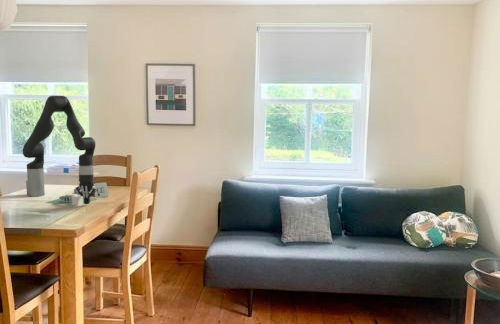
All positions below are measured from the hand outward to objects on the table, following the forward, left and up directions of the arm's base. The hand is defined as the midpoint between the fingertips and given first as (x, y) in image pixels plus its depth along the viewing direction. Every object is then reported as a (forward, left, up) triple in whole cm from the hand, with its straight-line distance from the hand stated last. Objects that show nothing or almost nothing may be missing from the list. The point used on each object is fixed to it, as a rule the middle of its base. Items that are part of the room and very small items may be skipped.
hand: (87, 203), depth 224 cm
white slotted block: (-15, +7, -1) cm, 17 cm away
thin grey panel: (-15, +6, +2) cm, 17 cm away
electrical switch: (-10, +26, -2) cm, 28 cm away
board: (-15, +7, -2) cm, 17 cm away
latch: (-8, 0, -1) cm, 8 cm away
